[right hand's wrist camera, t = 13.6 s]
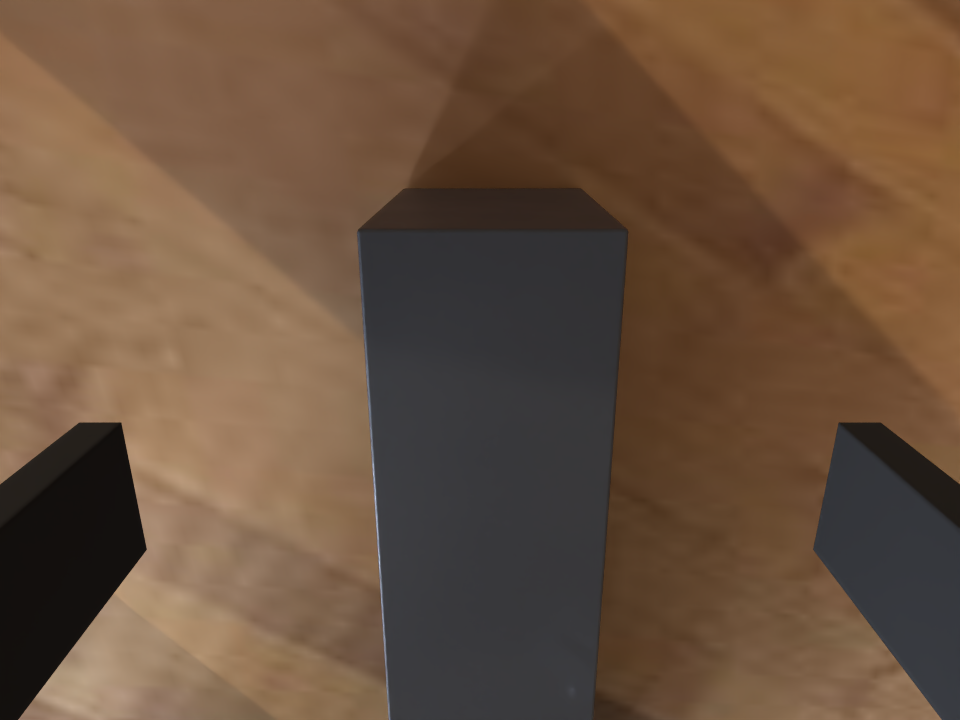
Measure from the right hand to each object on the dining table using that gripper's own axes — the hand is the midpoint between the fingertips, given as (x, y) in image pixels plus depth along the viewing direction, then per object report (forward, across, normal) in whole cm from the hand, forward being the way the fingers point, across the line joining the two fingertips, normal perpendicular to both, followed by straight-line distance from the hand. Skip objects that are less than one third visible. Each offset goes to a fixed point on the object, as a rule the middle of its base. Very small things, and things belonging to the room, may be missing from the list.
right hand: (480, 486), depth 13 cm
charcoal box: (+14, 0, +12) cm, 19 cm away
